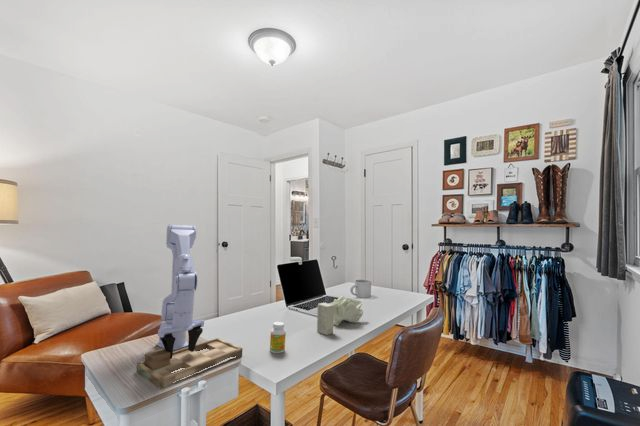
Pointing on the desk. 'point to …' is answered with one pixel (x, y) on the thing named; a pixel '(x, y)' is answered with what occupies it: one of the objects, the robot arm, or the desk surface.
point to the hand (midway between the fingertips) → (180, 354)
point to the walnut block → (157, 359)
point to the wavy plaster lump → (346, 310)
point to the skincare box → (325, 318)
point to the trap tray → (190, 361)
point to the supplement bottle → (277, 338)
